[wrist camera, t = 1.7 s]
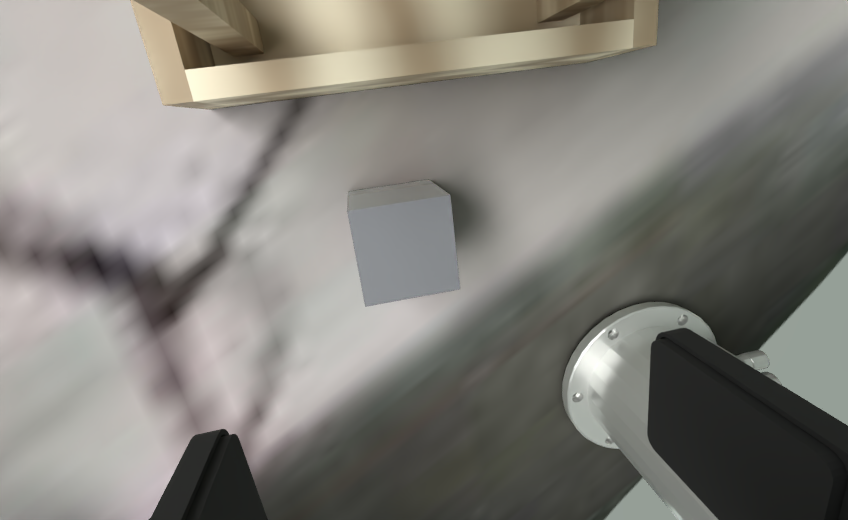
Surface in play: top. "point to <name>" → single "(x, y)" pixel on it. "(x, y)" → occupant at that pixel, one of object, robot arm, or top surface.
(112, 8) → the top surface
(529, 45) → the tan crate frame
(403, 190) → the basalt block
